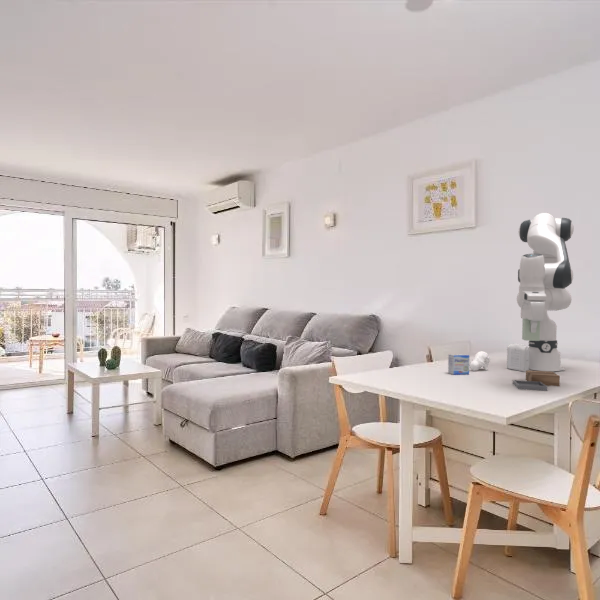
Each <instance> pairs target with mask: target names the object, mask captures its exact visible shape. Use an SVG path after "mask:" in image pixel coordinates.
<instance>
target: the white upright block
mask: <svg viewBox="0 0 600 600" xmlns="http://www.w3.org/2000/svg"><path fill="white" fill-rule="evenodd" d="M506 348H507V349H506V369H508V370H514V371H519V372H523V373H526V370H529V371H530V369H529V346H527V345H525V344H523V343H510V344H508V346H507V347H506Z"/></svg>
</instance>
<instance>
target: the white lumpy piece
mask: <svg viewBox="0 0 600 600" xmlns="http://www.w3.org/2000/svg"><path fill="white" fill-rule="evenodd" d="M490 360H491V359H490V356H489V354H488V353H487V352H486V351H483V350H482V351H478V352H477V353H475V355H474V356H473V359H472V360H471V361H470V362H469V370H471V371H472V372H475V371H477V372H478V371H479V370H480V369H481V368H482V369H484V370H485V371H488V366H489V364H490Z"/></svg>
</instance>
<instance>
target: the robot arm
mask: <svg viewBox="0 0 600 600" xmlns="http://www.w3.org/2000/svg"><path fill="white" fill-rule="evenodd" d="M573 234H574V224H573V221H572V220H571V219H570V218H567V217H555V216H553V214H550V213H548V212H540V213H538V214H536V215H534V217H533V218H532V219H527V220H524V221H522V222H521V223H520V225H519V228H518V237H519V239H520V241H522V242H523V243H527V245H528V246H529V247H530V249H532V250H533V252H532V253H526V254H523V255H522V256H521V258H520V263H519V269H518V270H517V281H518V283H519V286H518V294H517V296H516V303H517V305H518V307H519V308H520V318H521V319H522V320H523V319H528V320H530V323H531V328H530V332H532V333H535V332H536V327H537V321H540V341H528V346H527V347H528V348H529V370H530V371H549V372H560V371H565V367H563V366H562V356H561V352H560V351H559V350H558V349H557V348H558V340H557V327H558V326H557V323H556V322H555V321H554V320H553V319H551V318H550V317H549V314H548V312H549V311H550V312H551V311H552V312H553V311H554V312H555V311H561V310H562V311H563V310H565V309H568V308H569V307H570V305H571V303H572V295H571V293H570V292H569V290H568V289H566V288H568V287H570V285H571V284H573V279H574V272H573V268H572V266H571V264H570V258H569V254H568V249H567V245H566V242H568V241H569V240H570V239H571V238H572V236H573Z"/></svg>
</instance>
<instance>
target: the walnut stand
mask: <svg viewBox="0 0 600 600" xmlns="http://www.w3.org/2000/svg"><path fill="white" fill-rule="evenodd" d="M560 377H561V376H560V375H559V374H557V373H555V371H538V370H530V369H529V370H526V372H525V381H537V382H542V383H543V384H544V385H546V386H547V387H549V386H551V387H560V385H561V383H560Z"/></svg>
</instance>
